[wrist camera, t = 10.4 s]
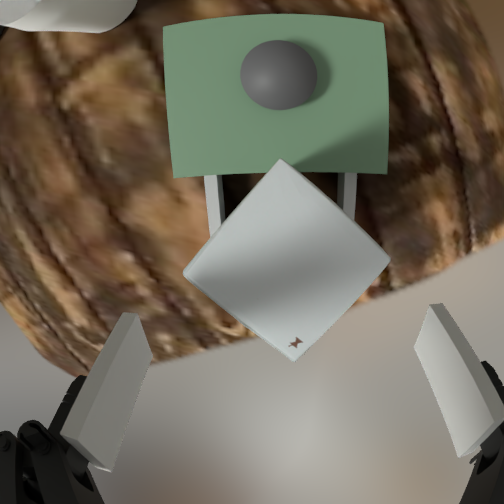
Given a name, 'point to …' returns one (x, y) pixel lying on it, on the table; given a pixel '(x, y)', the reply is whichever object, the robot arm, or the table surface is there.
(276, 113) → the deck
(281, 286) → the supplement box
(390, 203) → the table surface
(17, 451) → the robot arm
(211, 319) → the table surface
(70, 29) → the cup
